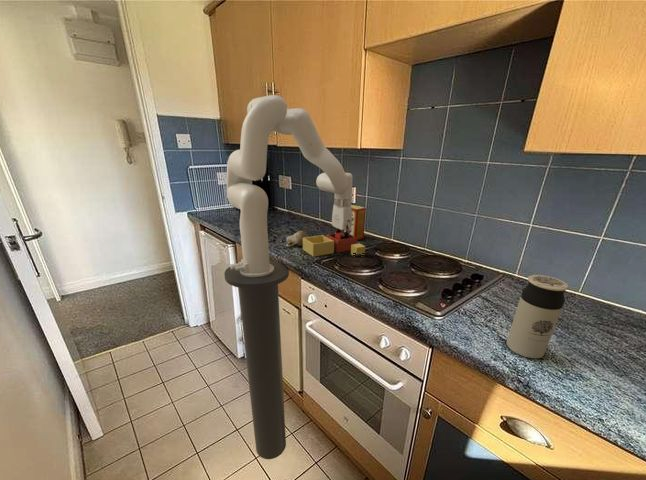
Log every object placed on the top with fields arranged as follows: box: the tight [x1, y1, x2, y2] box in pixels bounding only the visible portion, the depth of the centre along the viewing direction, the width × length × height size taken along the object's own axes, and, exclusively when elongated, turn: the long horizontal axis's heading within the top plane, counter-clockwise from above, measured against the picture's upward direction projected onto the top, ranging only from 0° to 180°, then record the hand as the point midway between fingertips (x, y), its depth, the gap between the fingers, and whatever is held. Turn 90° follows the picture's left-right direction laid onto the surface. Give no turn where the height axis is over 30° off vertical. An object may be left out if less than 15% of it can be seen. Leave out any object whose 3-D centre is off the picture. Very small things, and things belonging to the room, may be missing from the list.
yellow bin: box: [302, 234, 335, 257], centre depth 132 cm, size 10×10×6 cm
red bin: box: [325, 232, 358, 253], centre depth 138 cm, size 10×10×6 cm
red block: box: [334, 231, 342, 240], centre depth 138 cm, size 4×4×4 cm
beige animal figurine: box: [285, 230, 309, 248], centre depth 139 cm, size 8×10×10 cm
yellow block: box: [350, 243, 366, 256], centre depth 130 cm, size 4×4×4 cm
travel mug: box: [505, 274, 570, 359], centre depth 69 cm, size 8×8×18 cm
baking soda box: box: [344, 204, 367, 241], centre depth 151 cm, size 10×6×16 cm
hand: (341, 242), depth 138 cm, fingers closed on red block, 4 cm apart
